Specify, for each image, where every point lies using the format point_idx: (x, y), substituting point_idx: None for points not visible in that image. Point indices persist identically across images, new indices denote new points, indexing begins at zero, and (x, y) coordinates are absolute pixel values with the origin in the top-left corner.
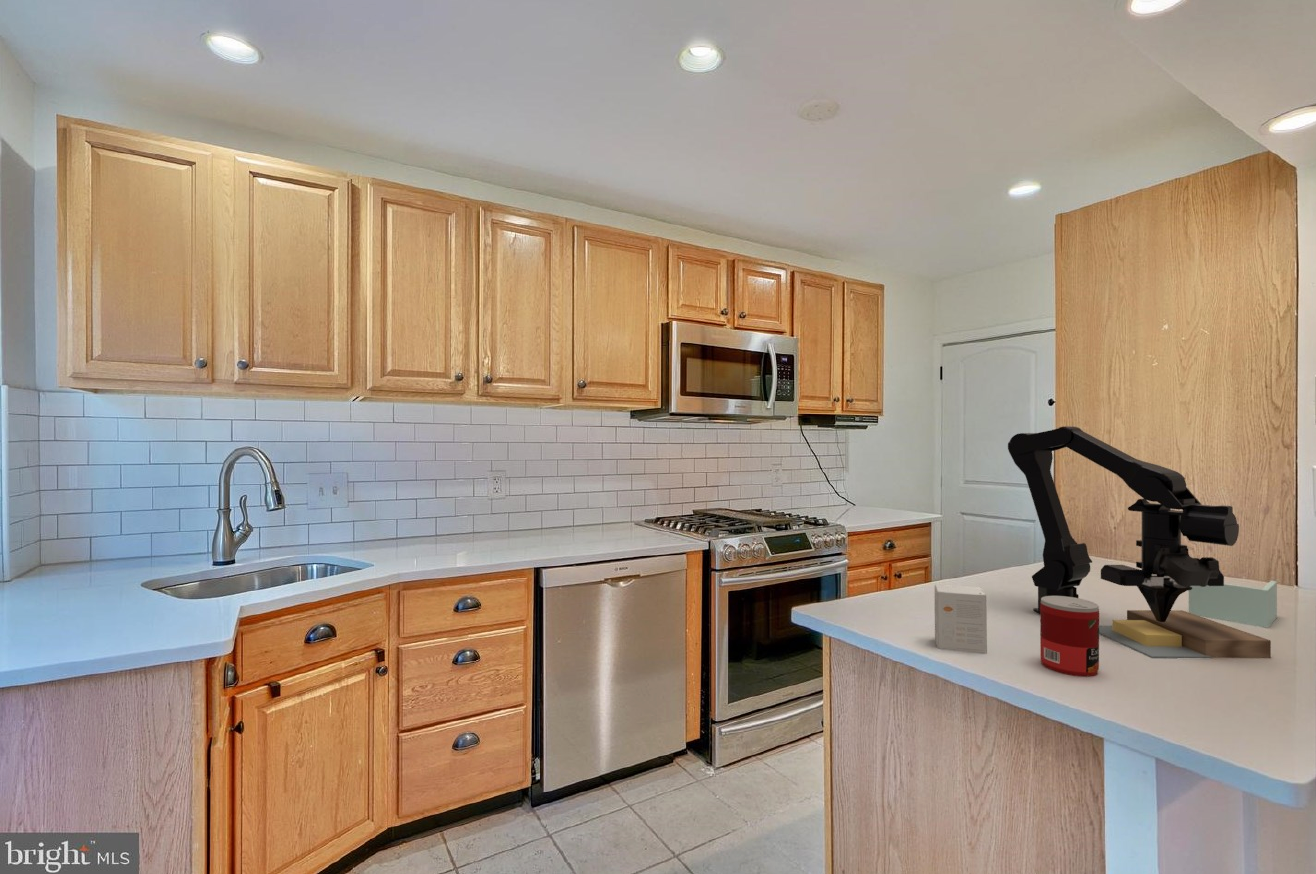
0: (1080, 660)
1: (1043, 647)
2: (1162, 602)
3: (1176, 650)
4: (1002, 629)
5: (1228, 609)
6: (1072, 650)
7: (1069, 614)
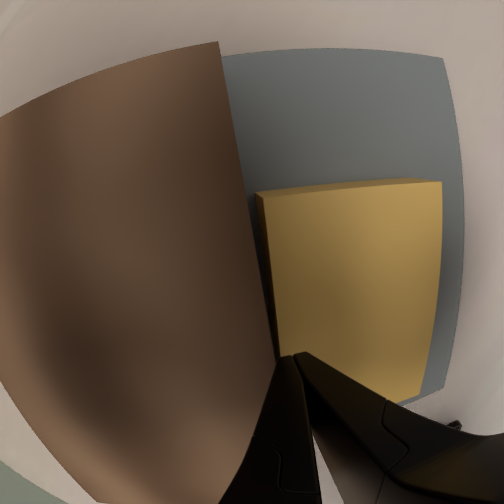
0: None
1: None
2: (368, 427)
3: (317, 126)
4: None
5: (3, 488)
6: None
7: None
